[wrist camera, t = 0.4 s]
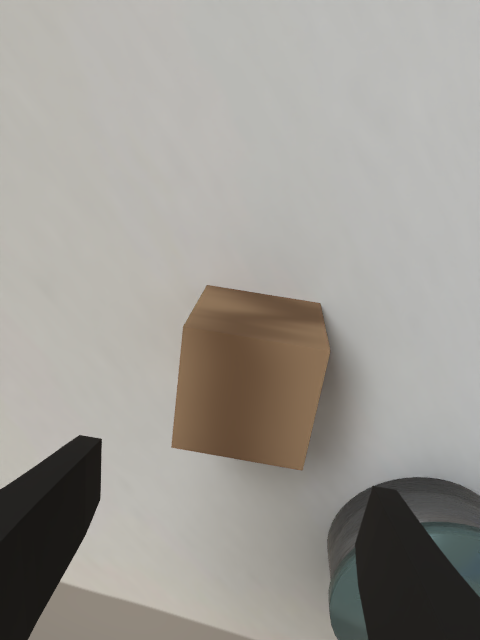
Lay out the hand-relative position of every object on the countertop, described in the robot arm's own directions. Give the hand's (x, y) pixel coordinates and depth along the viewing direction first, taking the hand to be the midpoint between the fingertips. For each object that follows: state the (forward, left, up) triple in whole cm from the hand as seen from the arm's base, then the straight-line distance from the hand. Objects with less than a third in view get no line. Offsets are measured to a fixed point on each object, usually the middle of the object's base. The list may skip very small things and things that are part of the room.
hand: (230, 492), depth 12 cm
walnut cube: (0, 0, -10) cm, 10 cm away
